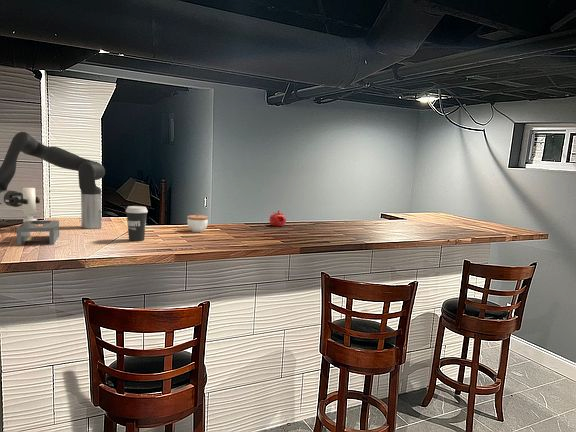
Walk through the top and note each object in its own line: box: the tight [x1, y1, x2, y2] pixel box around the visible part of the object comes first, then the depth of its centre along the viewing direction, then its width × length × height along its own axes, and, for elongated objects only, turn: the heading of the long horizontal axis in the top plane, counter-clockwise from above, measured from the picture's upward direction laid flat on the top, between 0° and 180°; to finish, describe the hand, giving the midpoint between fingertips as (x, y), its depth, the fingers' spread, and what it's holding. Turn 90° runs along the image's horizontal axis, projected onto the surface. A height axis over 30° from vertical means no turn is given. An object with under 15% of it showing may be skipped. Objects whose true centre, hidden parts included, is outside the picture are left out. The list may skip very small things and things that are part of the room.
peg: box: [22, 187, 38, 223], centre depth 201 cm, size 6×6×16 cm
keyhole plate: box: [16, 219, 60, 247], centre depth 184 cm, size 20×13×7 cm, turn 22°
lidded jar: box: [186, 212, 209, 233], centre depth 225 cm, size 11×11×9 cm
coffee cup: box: [125, 205, 149, 242], centre depth 194 cm, size 10×10×15 cm
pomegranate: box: [269, 209, 287, 228], centre depth 256 cm, size 10×10×9 cm
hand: (32, 201), depth 200 cm, fingers closed on peg, 5 cm apart
